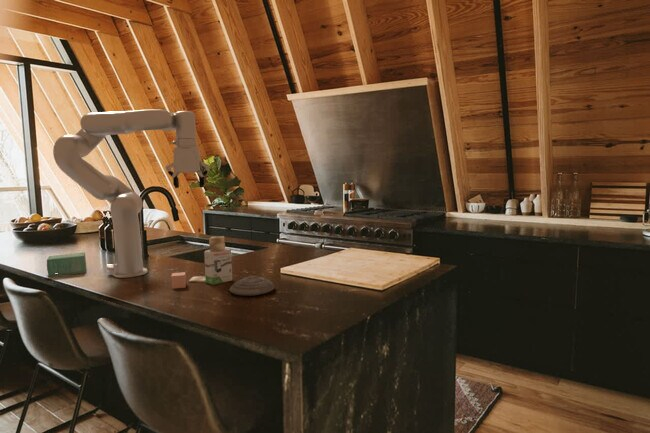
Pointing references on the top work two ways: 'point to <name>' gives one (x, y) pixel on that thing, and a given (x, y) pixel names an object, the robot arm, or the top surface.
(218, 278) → the ink box
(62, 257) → the box
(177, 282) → the terracotta block
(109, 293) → the top surface
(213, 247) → the maple block
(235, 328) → the top surface
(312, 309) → the top surface
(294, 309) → the top surface
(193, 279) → the tile
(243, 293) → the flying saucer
